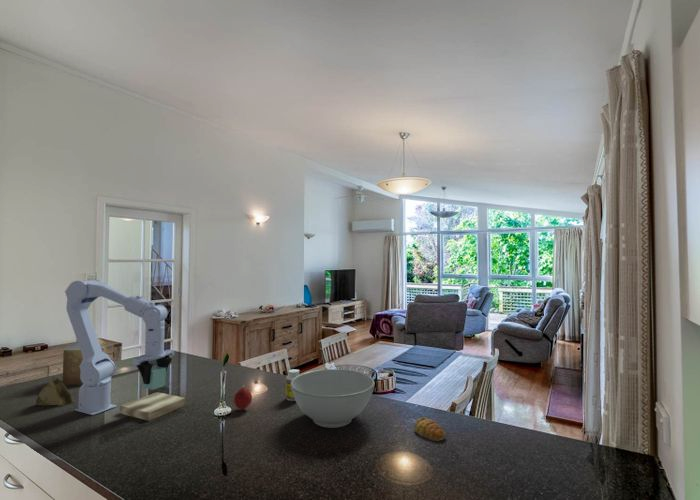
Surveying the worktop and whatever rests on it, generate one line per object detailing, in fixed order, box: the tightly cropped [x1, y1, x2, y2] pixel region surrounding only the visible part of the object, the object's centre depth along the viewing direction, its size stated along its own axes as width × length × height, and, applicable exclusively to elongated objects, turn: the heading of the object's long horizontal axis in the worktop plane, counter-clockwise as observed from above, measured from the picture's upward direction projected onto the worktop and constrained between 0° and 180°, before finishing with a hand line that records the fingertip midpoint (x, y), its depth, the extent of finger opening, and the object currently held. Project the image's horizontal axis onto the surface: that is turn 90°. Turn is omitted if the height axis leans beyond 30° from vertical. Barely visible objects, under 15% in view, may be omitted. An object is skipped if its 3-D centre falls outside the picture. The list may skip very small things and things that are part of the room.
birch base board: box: [119, 391, 187, 422], centre depth 125 cm, size 14×14×2 cm
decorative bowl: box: [291, 368, 376, 429], centre depth 118 cm, size 27×27×12 cm
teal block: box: [141, 365, 167, 391], centre depth 125 cm, size 5×5×6 cm
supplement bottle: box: [285, 368, 300, 402], centre depth 135 cm, size 6×6×10 cm
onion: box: [233, 385, 253, 411], centre depth 125 cm, size 6×6×8 cm
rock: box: [35, 377, 75, 407], centre depth 130 cm, size 11×9×10 cm
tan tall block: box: [61, 337, 108, 386], centre depth 155 cm, size 11×11×19 cm
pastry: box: [413, 416, 446, 442], centre depth 107 cm, size 9×7×4 cm
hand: (153, 381), depth 125 cm, fingers closed on teal block, 5 cm apart
